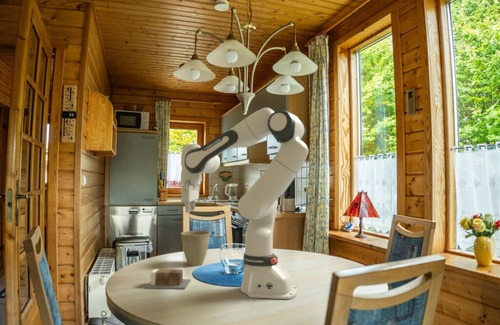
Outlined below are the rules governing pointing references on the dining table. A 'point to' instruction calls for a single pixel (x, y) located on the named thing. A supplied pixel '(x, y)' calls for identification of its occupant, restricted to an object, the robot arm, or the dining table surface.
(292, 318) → the dining table surface
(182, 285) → the grey mat
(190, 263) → the plant pot
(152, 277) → the walnut block
